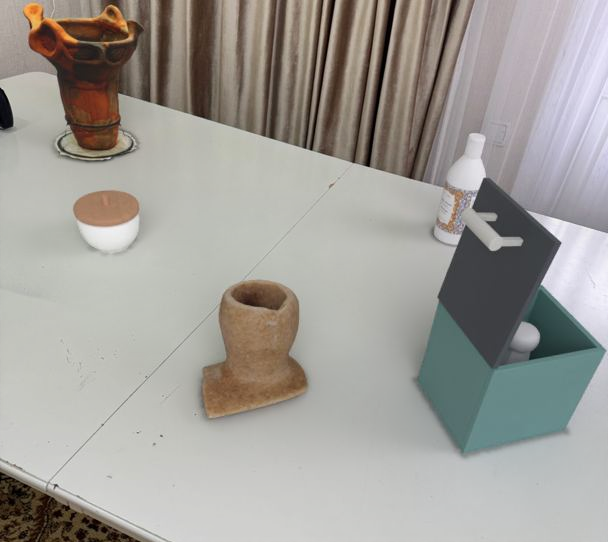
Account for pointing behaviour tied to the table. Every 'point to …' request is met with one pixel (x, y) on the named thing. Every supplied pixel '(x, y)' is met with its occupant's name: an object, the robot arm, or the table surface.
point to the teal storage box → (509, 378)
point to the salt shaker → (522, 344)
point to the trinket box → (108, 219)
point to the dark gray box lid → (496, 270)
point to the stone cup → (255, 350)
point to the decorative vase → (87, 76)
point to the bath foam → (460, 190)
